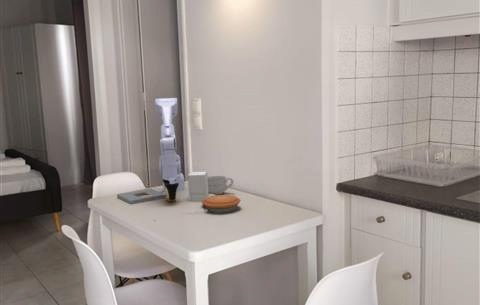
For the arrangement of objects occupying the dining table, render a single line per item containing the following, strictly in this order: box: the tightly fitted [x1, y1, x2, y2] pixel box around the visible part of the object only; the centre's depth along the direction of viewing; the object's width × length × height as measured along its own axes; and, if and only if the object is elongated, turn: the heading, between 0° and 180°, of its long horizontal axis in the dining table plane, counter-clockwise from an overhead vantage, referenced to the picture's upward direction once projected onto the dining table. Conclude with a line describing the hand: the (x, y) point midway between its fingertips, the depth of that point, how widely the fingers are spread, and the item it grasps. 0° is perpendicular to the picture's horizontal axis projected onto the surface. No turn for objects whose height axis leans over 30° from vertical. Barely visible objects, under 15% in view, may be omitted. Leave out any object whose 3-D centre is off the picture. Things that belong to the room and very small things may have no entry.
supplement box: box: [187, 171, 210, 202], centre depth 206 cm, size 7×7×13 cm
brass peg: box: [165, 188, 177, 203], centre depth 203 cm, size 4×4×6 cm
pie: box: [201, 194, 241, 214], centre depth 194 cm, size 15×16×5 cm
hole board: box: [116, 188, 167, 205], centre depth 212 cm, size 16×16×3 cm
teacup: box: [207, 175, 234, 196], centre depth 220 cm, size 14×11×8 cm
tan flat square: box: [160, 198, 184, 205], centre depth 204 cm, size 7×7×2 cm
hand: (171, 197), depth 203 cm, fingers open, 7 cm apart
